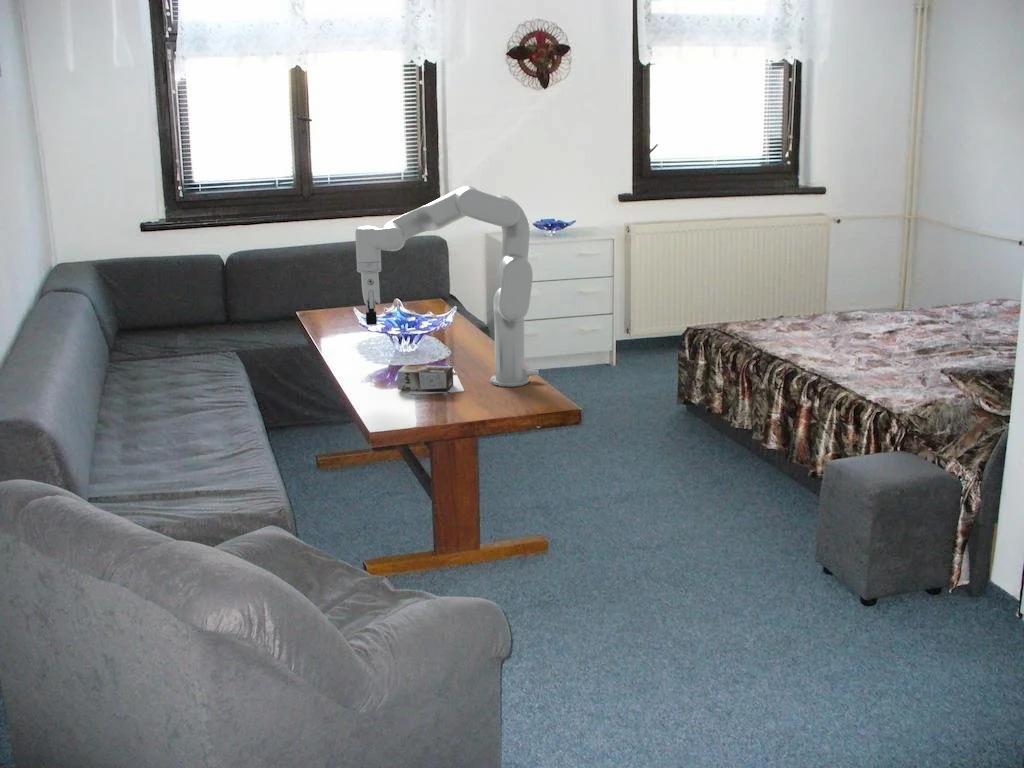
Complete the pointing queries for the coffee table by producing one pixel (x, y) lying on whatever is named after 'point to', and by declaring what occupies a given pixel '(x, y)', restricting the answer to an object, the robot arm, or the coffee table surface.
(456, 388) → the flat white panel
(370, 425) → the coffee table surface
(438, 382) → the coffee box
